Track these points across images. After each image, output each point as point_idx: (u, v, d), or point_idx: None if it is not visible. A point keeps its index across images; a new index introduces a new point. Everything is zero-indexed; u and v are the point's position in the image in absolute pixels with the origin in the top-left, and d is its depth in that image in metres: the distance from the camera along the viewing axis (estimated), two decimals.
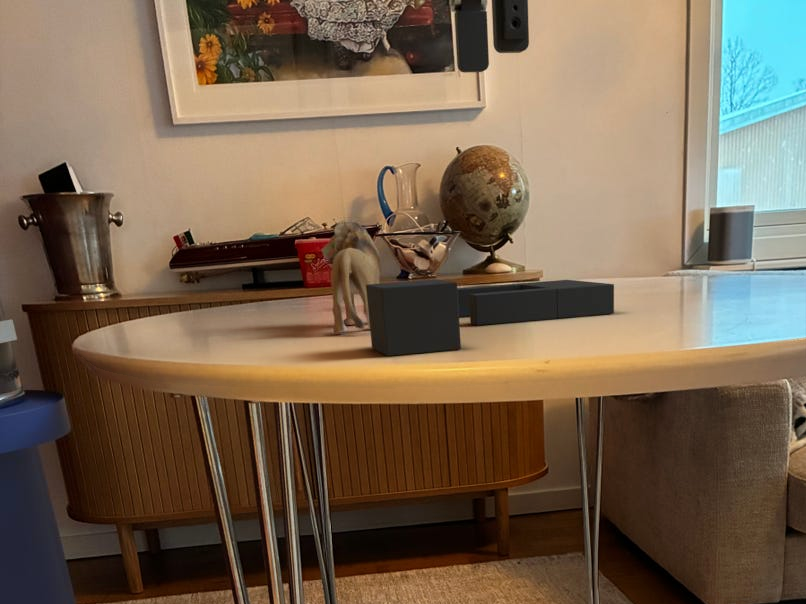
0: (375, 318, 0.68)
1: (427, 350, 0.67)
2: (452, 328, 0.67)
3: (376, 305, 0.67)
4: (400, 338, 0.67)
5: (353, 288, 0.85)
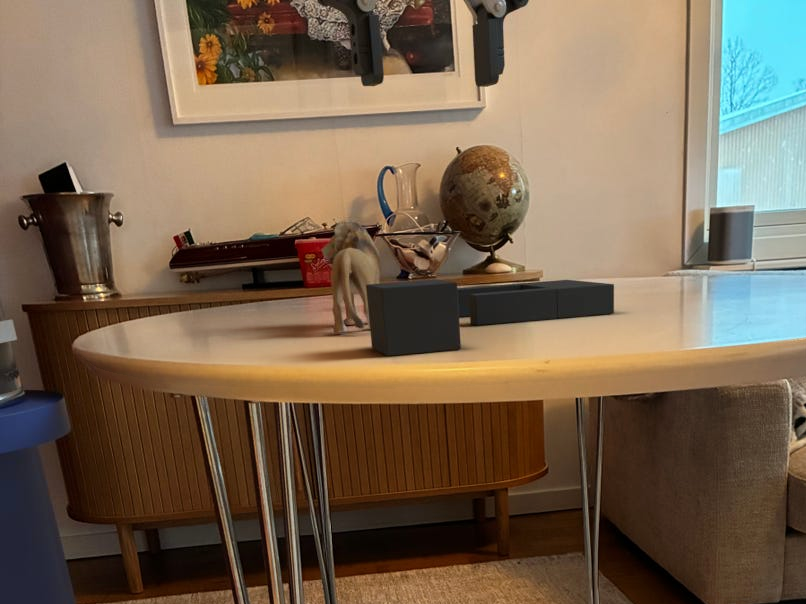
0: (375, 318, 0.68)
1: (427, 350, 0.67)
2: (452, 328, 0.67)
3: (376, 305, 0.67)
4: (400, 338, 0.67)
5: (353, 288, 0.85)
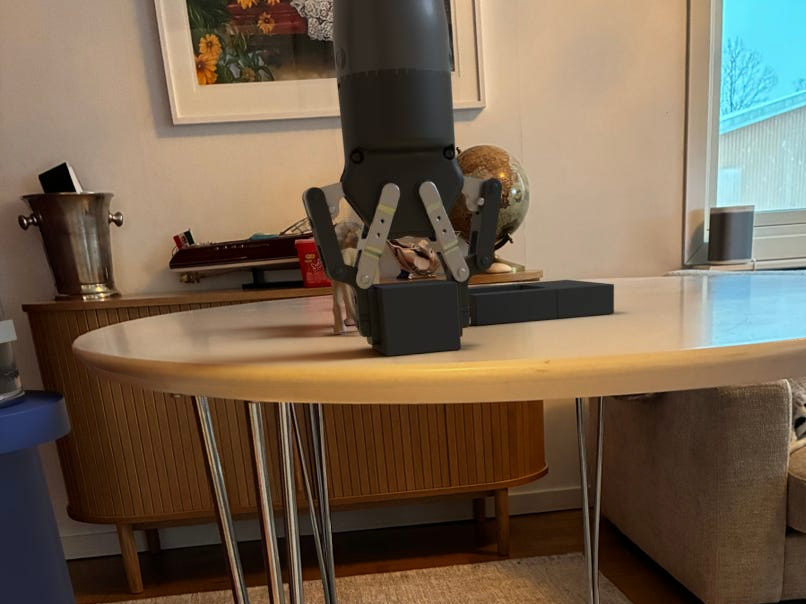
0: None
1: (427, 350, 0.67)
2: (452, 328, 0.67)
3: None
4: (400, 338, 0.67)
5: None
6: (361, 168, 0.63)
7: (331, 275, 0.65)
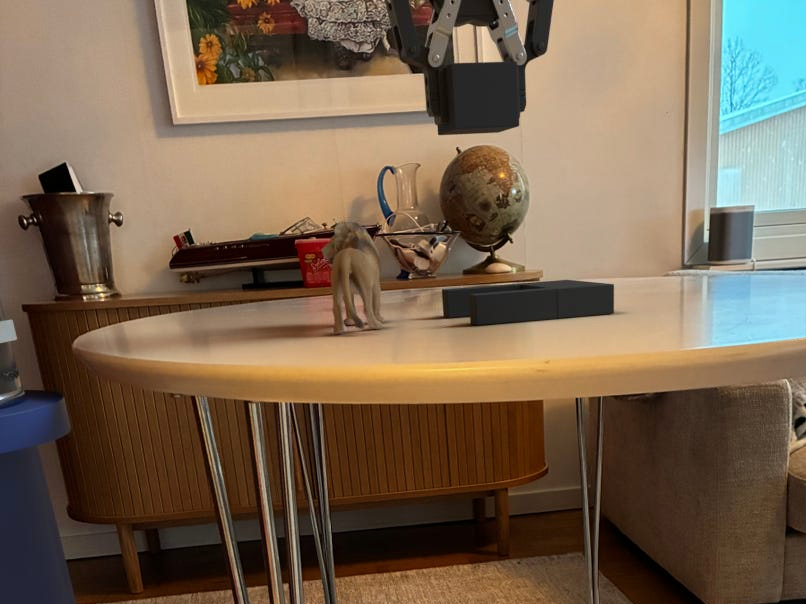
0: None
1: (490, 125, 0.76)
2: (512, 105, 0.76)
3: None
4: (466, 112, 0.75)
5: (353, 288, 0.85)
6: None
7: (406, 52, 0.74)
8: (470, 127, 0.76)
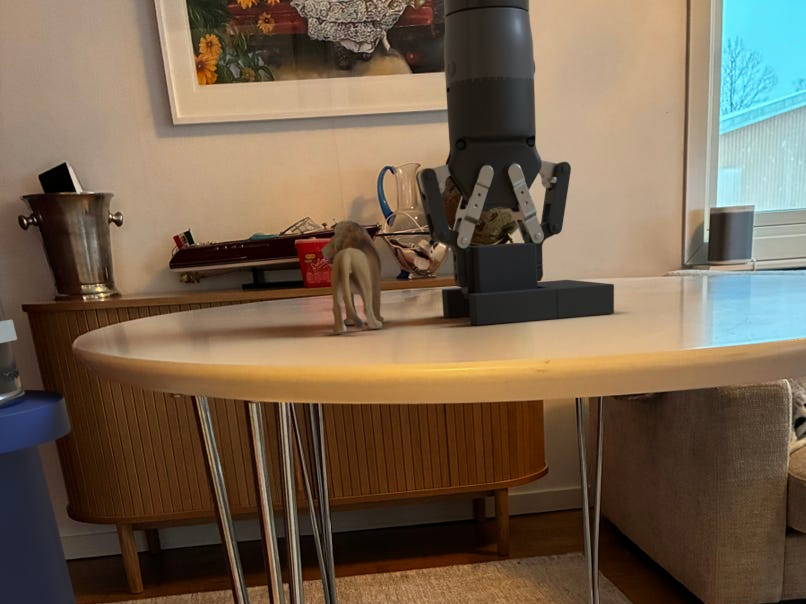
0: None
1: None
2: (531, 280, 0.86)
3: None
4: (490, 287, 0.85)
5: (353, 288, 0.85)
6: (464, 153, 0.82)
7: (438, 237, 0.84)
8: None
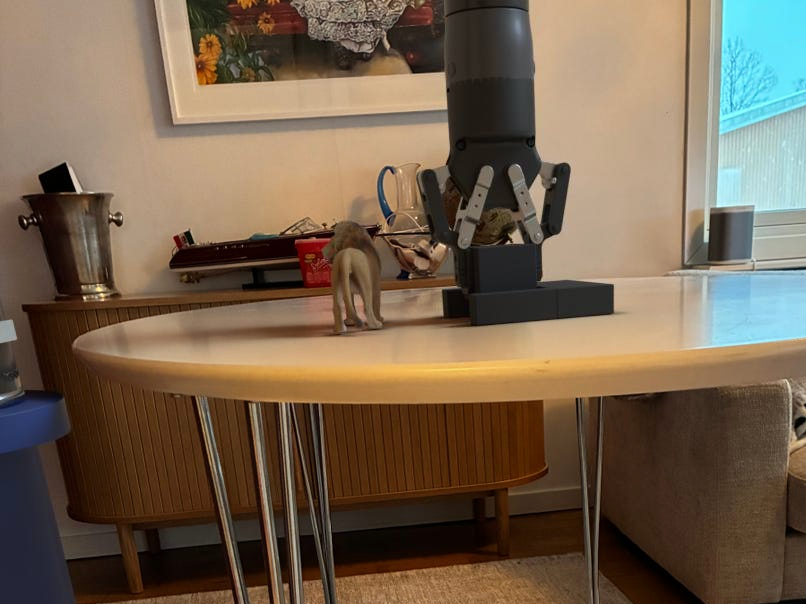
0: None
1: None
2: (531, 280, 0.86)
3: None
4: (490, 288, 0.85)
5: (353, 288, 0.85)
6: (464, 154, 0.82)
7: (439, 238, 0.84)
8: None
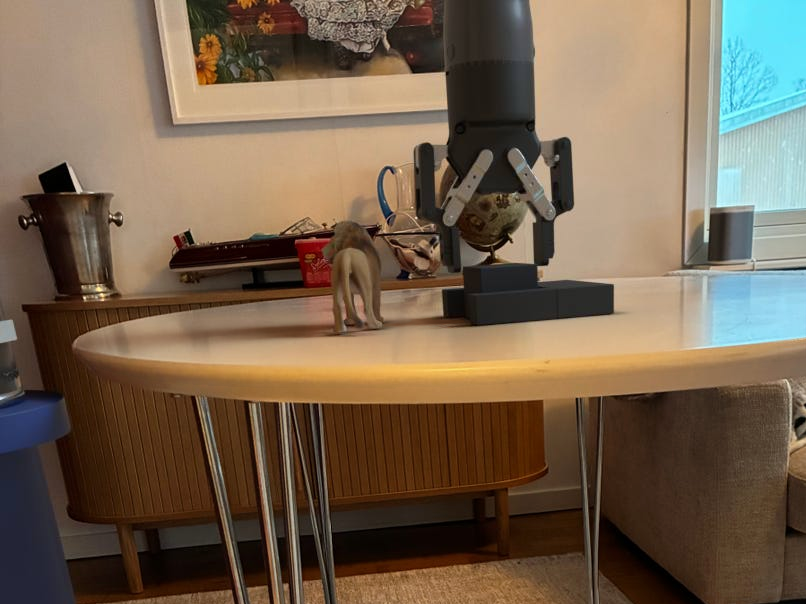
0: (471, 292, 0.87)
1: None
2: None
3: (473, 282, 0.86)
4: None
5: (353, 288, 0.85)
6: (463, 137, 0.81)
7: (423, 215, 0.82)
8: None
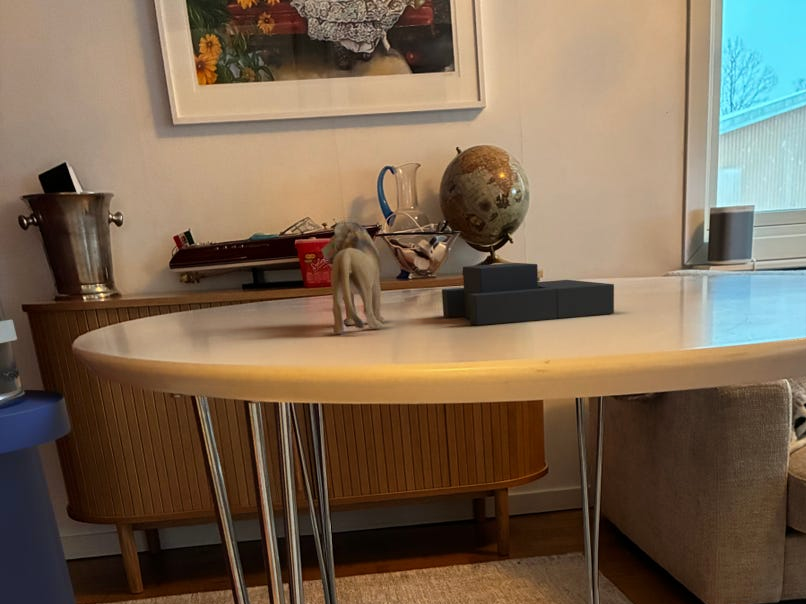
0: (471, 292, 0.87)
1: None
2: None
3: (473, 282, 0.86)
4: None
5: (353, 288, 0.85)
6: None
7: None
8: None
